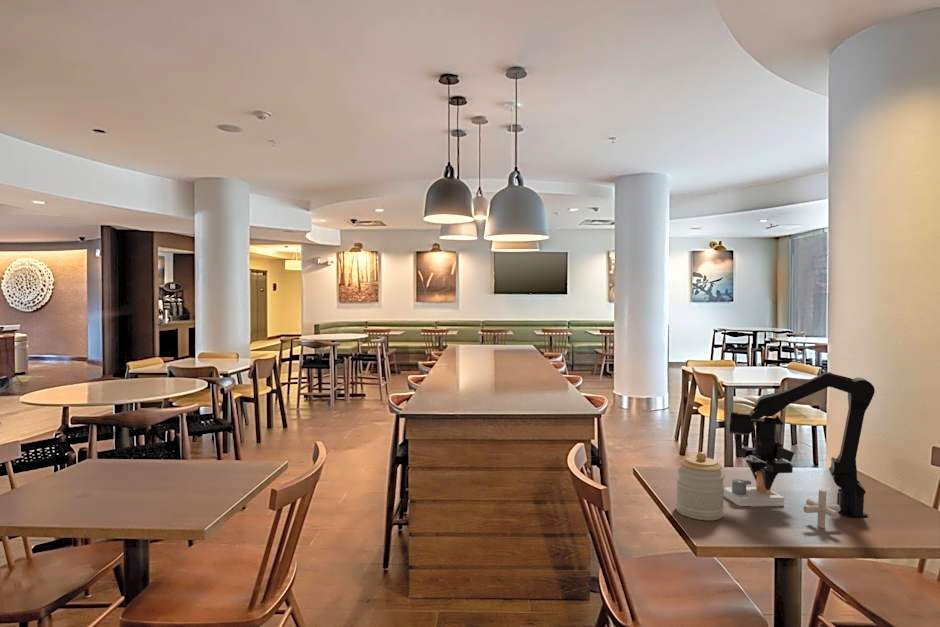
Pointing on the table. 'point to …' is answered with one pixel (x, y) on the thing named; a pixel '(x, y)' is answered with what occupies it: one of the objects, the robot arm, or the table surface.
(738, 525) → the table surface
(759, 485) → the orange rounded tapered piece
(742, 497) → the housing
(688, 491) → the jar
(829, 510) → the pipe connector
